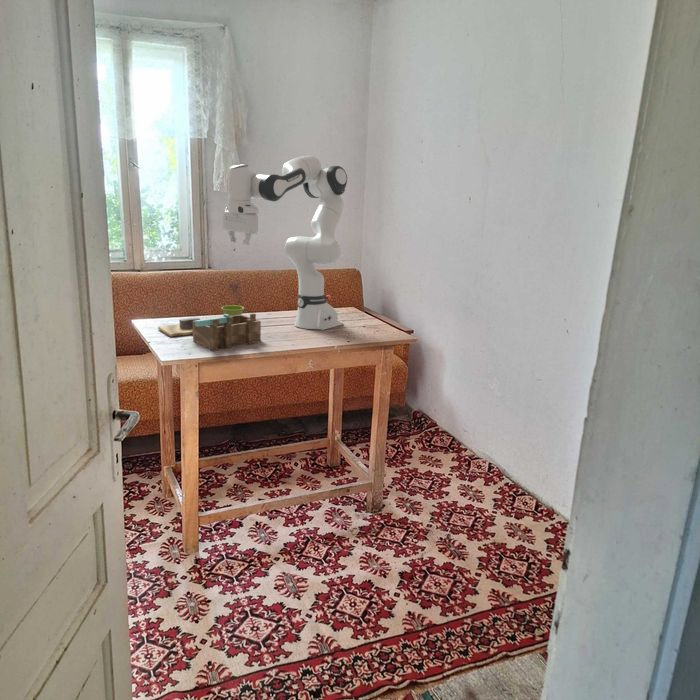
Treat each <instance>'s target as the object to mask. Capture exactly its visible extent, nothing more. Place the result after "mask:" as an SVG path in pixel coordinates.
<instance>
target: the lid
mask: <svg viewBox="0 0 700 700" xmlns="http://www.w3.org/2000/svg"><path fill="white" fill-rule="evenodd" d="M195 320H201V318H199V317H193V318H192V317H191V318H181V319H179V324H178V323H177V324H170V325H161V326H160V325H159V326H157V329H158V330H159V331H161V332H163V333H164V334H166V335H167V336H169V337H171V338H172V337H180V336H181V335H182V336H187V335H193V321H195ZM182 336H181V337H182Z"/></svg>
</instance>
